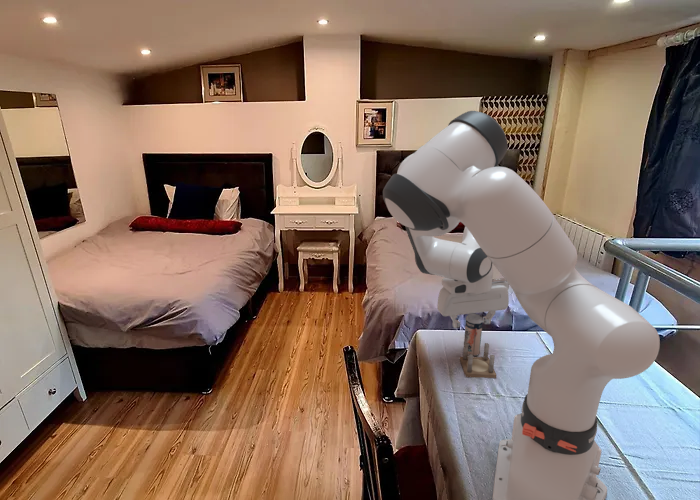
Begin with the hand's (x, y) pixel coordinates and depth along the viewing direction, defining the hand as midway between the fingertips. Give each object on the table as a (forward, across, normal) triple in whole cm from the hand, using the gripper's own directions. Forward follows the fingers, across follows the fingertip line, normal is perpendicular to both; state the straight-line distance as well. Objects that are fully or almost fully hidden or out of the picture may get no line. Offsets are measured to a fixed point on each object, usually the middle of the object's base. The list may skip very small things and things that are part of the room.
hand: (471, 325), depth 107 cm
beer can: (+10, -1, 0) cm, 10 cm away
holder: (+9, +1, +8) cm, 12 cm away
